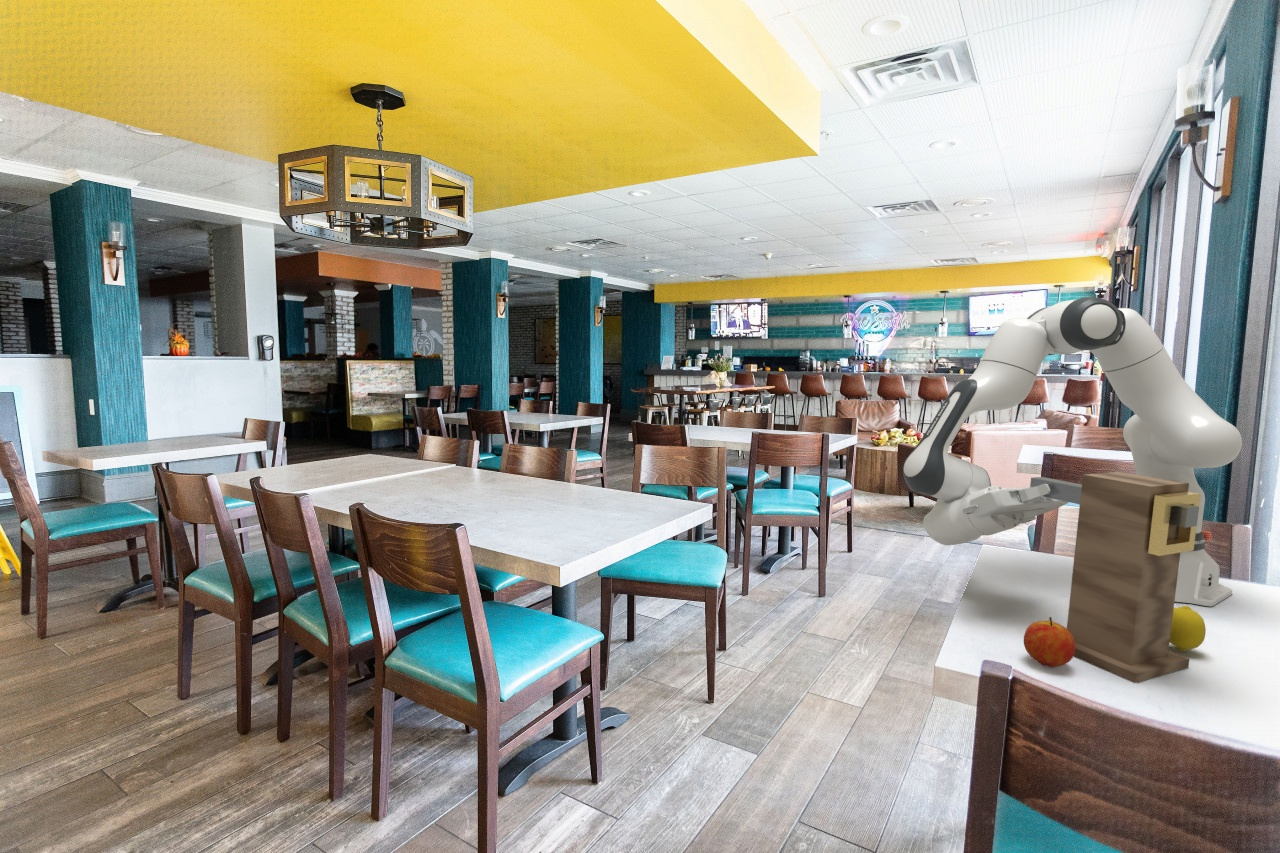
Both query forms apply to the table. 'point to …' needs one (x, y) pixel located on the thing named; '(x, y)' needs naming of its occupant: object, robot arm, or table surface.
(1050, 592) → the table surface
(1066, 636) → the fruit
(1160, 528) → the frame
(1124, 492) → the block
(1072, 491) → the shaft
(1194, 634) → the lemon
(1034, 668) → the table surface
